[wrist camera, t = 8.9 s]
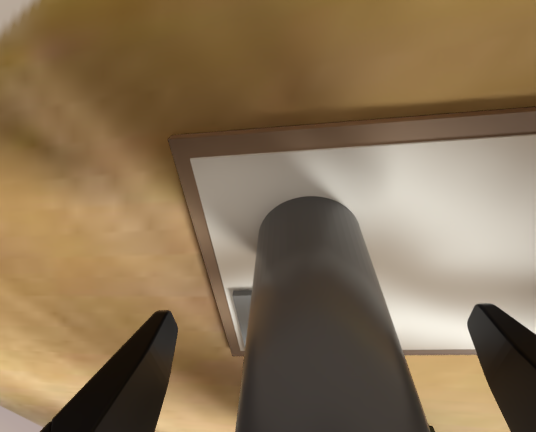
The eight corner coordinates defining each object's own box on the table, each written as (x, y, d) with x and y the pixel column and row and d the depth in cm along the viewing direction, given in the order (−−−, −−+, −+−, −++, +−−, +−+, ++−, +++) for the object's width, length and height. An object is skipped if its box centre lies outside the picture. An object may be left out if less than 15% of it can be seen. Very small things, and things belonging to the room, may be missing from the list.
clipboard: (545, 347, 16) (562, 369, 15) (233, 349, 17) (230, 369, 16) (744, 90, 8) (805, 100, 7) (171, 135, 10) (159, 149, 9)
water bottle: (357, 274, 13) (498, 786, 4) (262, 277, 13) (223, 753, 5) (366, 191, 10) (708, 948, 2) (250, 198, 11) (130, 861, 2)
